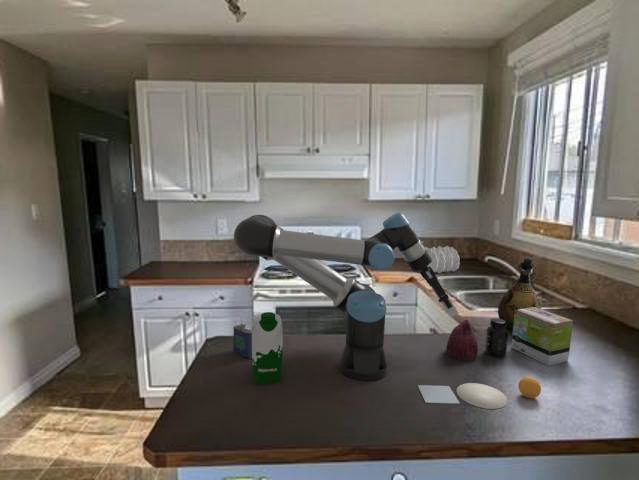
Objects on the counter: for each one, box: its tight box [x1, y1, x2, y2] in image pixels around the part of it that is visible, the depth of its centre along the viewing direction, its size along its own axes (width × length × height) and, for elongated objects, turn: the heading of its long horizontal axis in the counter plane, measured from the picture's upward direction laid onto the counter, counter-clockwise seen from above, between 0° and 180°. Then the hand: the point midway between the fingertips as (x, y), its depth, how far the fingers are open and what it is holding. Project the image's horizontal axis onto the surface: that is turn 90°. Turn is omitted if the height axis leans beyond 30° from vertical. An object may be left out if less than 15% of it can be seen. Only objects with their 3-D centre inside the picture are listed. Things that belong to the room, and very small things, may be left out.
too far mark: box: [417, 384, 461, 405], centre depth 109 cm, size 9×9×1 cm
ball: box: [518, 376, 542, 399], centre depth 108 cm, size 6×6×6 cm
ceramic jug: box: [497, 256, 542, 335], centre depth 157 cm, size 17×15×30 cm
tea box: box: [510, 307, 574, 366], centre depth 136 cm, size 15×10×15 cm, turn 23°
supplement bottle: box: [484, 317, 509, 359], centre depth 136 cm, size 7×7×12 cm
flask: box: [232, 323, 252, 360], centre depth 130 cm, size 9×3×11 cm, turn 50°
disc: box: [456, 382, 508, 410], centre depth 109 cm, size 13×13×1 cm
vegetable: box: [445, 318, 479, 362], centre depth 133 cm, size 10×10×15 cm
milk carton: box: [251, 311, 284, 386], centre depth 114 cm, size 9×9×20 cm
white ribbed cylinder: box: [424, 245, 461, 274], centre depth 261 cm, size 18×18×25 cm
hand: (449, 307), depth 133 cm, fingers open, 13 cm apart
